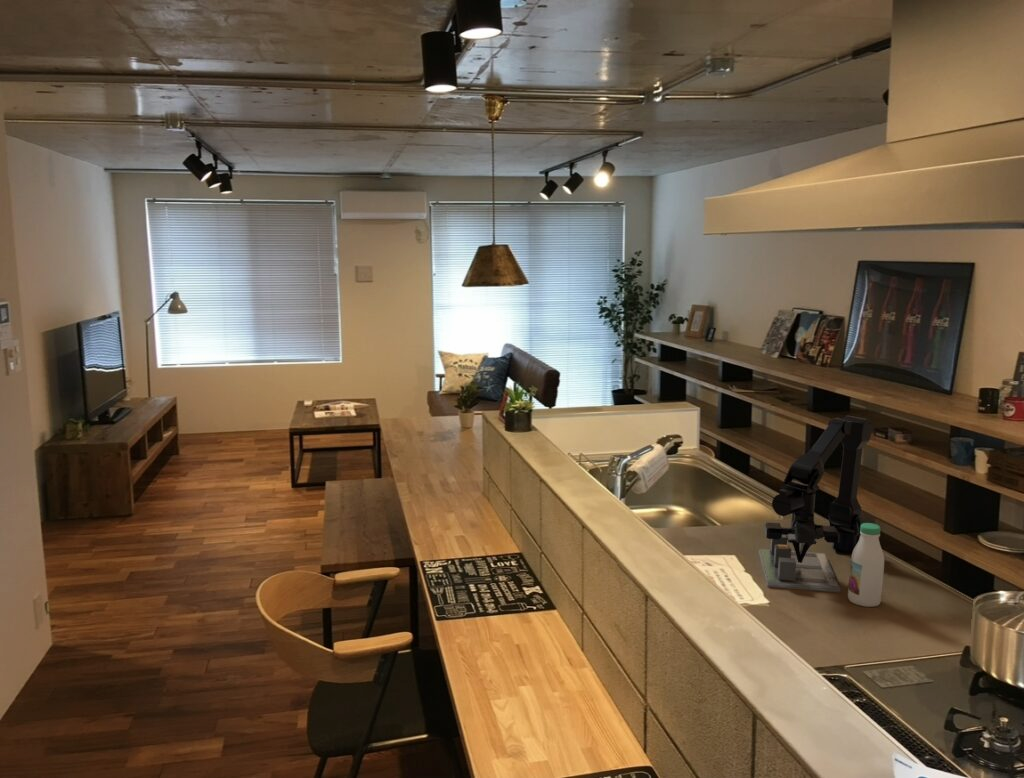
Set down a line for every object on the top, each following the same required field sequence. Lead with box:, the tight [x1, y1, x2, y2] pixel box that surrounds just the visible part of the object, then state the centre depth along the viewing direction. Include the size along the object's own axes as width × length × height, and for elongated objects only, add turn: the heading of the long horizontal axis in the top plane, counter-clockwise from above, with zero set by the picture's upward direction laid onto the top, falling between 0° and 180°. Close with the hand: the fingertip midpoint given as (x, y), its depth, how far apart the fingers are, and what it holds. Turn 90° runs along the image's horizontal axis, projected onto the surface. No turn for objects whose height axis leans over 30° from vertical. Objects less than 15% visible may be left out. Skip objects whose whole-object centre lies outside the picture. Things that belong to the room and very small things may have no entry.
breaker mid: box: [774, 544, 792, 566], centre depth 229 cm, size 4×3×5 cm
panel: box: [758, 548, 841, 593], centre depth 229 cm, size 18×23×2 cm
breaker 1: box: [769, 535, 788, 554], centre depth 238 cm, size 4×3×5 cm
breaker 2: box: [778, 557, 796, 581], centre depth 221 cm, size 4×3×5 cm
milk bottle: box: [847, 522, 885, 608], centre depth 209 cm, size 8×8×20 cm
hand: (799, 562), depth 229 cm, fingers closed
